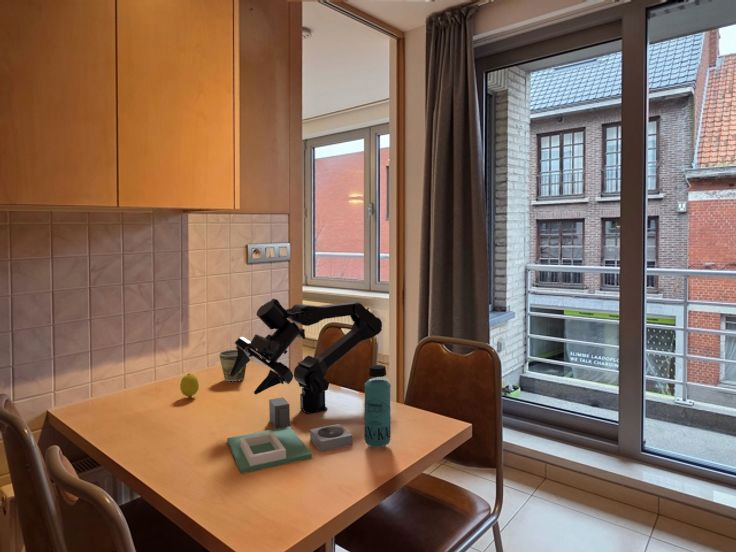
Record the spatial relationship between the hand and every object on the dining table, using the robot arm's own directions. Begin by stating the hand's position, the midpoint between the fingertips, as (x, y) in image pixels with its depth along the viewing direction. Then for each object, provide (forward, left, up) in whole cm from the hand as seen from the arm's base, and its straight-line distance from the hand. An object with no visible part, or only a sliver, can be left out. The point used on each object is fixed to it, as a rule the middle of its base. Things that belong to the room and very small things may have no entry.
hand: (242, 384), depth 126 cm
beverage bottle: (-26, +27, -12) cm, 40 cm away
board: (-2, +16, -12) cm, 20 cm away
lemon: (+11, -33, -12) cm, 36 cm away
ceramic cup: (-6, -45, -12) cm, 47 cm away
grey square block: (-17, +19, -12) cm, 29 cm away
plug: (-9, +1, -12) cm, 15 cm away
